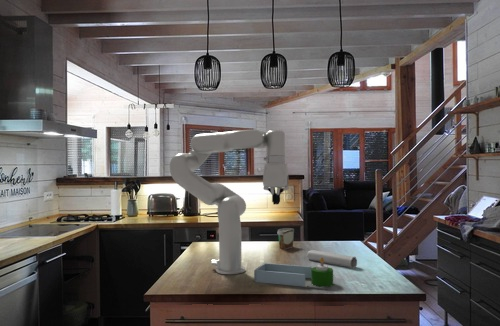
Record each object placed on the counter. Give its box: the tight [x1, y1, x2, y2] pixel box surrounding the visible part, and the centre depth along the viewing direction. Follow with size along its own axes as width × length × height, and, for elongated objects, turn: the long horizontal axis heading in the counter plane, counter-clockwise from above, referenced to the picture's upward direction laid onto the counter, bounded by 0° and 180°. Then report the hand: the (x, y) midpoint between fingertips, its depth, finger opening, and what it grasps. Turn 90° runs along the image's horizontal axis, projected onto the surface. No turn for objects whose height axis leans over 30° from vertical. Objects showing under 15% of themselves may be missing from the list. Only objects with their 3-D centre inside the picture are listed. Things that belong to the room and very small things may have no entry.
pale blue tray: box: [253, 262, 313, 288], centre depth 164 cm, size 20×13×4 cm, turn 70°
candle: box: [310, 258, 334, 287], centre depth 159 cm, size 8×8×10 cm
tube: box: [306, 249, 358, 269], centre depth 191 cm, size 5×5×25 cm
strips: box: [306, 285, 327, 291], centre depth 160 cm, size 7×15×1 cm, turn 160°
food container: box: [276, 227, 295, 251], centre depth 226 cm, size 12×6×10 cm, turn 144°
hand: (276, 204), depth 173 cm, fingers closed
